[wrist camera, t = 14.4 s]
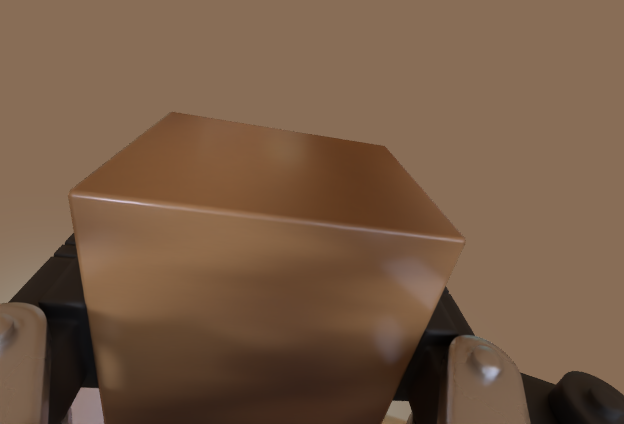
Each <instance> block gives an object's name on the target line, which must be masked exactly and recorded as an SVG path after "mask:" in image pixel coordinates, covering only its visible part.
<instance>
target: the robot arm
mask: <svg viewBox="0 0 624 424" xmlns="http://www.w3.org/2000/svg"><path fill="white" fill-rule="evenodd" d="M81 387H86V388H99V386H98V379H97V373H96V367H95V361H94V354H93V346H92V339H91V333H90V327H89V320H88V314H87V308H86V304H85V298H84V292H83V286H82V279H81V273H80V267H79V261H78V254H77V248H76V242H75V236H74V233H73V234H72V235H71V236H70V237H69V238H68V240H66V242H65V245H62V246H61V247H60V248H59V249H58V250H57V251H56V252H55V253H54V257H50V259H49V260H48V261H47V262H46V263H45V264H44V265H43V266H42V267H41V268H40V269H39V270H38V271H37V273H35V275H34V276H33V277H32V278H31V279H30V280H29V281H28V282H27V283H26V284H25V285H24V286H23V287H22V288H21V289H20V290H19V292H18V293H17V294H16V295H15V296H14V297H13V298H12V299H11V300H10V301H9V302H8V303H2V304H0V424H72V412H71V405H72V403H73V401H74V399H75V397H76V395H77V393H78V392H79V390H80V388H81ZM394 400H395V401H409V403H410V406H411V410H412V412H411V414H410V416H409V418H408V420H407V424H624V395H623V394H621V393H620V392H619V391H618V390H616V389H615V388H614V387H612V386H611V385H609V384H608V383H606V382H604V381H603V380H601V379H599V378H597V377H595V376H592V375H590V374H587V373H584V372H579V371H572V372H568V373H567V374H565V375H564V377H563V378H562V379H561V380H560V381H559V382H558V383H557V384H556V385H555V384H552V383H549V382H546V381H543V380H541V379H538V378H535V377H532V376H529V375H526V374H523V373H520V372H519V370H518V368H517V366H516V365H515V363H514V362H513V361H512V359H511V358H510V357H509V356H508V355H507V354H506V353H505V352H504V351H502V350H501V349H500V348H499V347H497V346H496V345H494V344H493V343H491V342H489V341H487V340H485V339H483V338H480V337H476V336H475V335H474V333H473V331H472V330H471V328H470V326H469V325H468V323H467V321H466V320H465V318H464V316H463V315H462V313H461V311H460V310H459V308H458V306H457V304H456V303H455V301H454V300H453V298H452V296H451V295H450V294H449V291H448V290H447V288H446V286H445V288H444V291H443V293H442V295H441V297H440V299H439V301H438V303H437V306H436V308H435V310H434V312H433V314H432V316H431V318H430V321H429V323H428V325H427V327H426V329H425V331H424V333H423V335H422V337H421V339H420V341H419V344H418V346H417V348H416V350H415V352H414V354H413V356H412V359H411V361H410V363H409V365H408V367H407V369H406V371H405V374H404V376H403V378H402V380H401V382H400V384H399V387H398V389H397V391H396V394H395V396H394V398H393V401H394Z"/></svg>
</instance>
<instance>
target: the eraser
mask: <svg viewBox="0 0 624 424" xmlns="http://www.w3.org/2000/svg"><path fill="white" fill-rule="evenodd" d="M68 198H69V204H70V210H71V217H72V223H73V229H74V236H75V242H76V248H77V254H78V261H79V267H80V273H81V279H82V286H83V292H84V298H85V304H86V308H87V314H88V320H89V327H90V333H91V339H92V346H93V354H94V361H95V367H96V373H97V379H98V386H99V392H100V398H101V404H102V411H103V417H104V423H105V424H382V421H383V419H384V417H385V415H386V413H387V411H388V408H389V406H390V404H391V402H392V400H393V398H394V396H395V394H396V391H397V389H398V387H399V384H400V382H401V380H402V378H403V376H404V374H405V371H406V369H407V367H408V365H409V363H410V361H411V359H412V356H413V354H414V352H415V350H416V348H417V346H418V344H419V341H420V339H421V337H422V335H423V333H424V331H425V329H426V327H427V325H428V323H429V321H430V318H431V316H432V314H433V312H434V310H435V308H436V306H437V303H438V301H439V299H440V297H441V295H442V293H443V291H444V288H445V286H446V284H447V282H448V280H449V278H450V275H451V273H452V271H453V269H454V267H455V265H456V263H457V261H458V258H459V256H460V254H461V252H462V250H463V248H464V246H465V241H466V240H465V238H464V236H463V235H462V234H461V233H460V232H459V231H458V230H457V228H456V227H455V226H454V225H453V224H452V223H451V222H450V220H449V219H448V218H447V217H446V216H445V215H444V214H443V212H442V211H441V210H440V209H439V208H438V207H437V205H436V204H435V203H434V202H433V201H432V200H431V199H430V197H429V196H428V195H427V194H426V193H425V192H424V191H423V189H422V188H421V187H420V186H419V185H418V184H417V183H416V181H415V180H414V179H413V178H412V177H411V176H410V174H409V173H408V172H407V171H406V170H405V169H404V168H403V166H402V165H401V164H400V163H399V162H398V161H397V160H396V158H395V157H394V156H393V155H392V154H391V153H390V152H389V150H388V149H387V148H386V147H385V146H380V145H374V144H368V143H362V142H355V141H349V140H342V139H337V138H330V137H324V136H318V135H312V134H306V133H299V132H294V131H287V130H281V129H275V128H269V127H262V126H256V125H250V124H244V123H237V122H231V121H225V120H219V119H213V118H207V117H200V116H194V115H188V114H182V113H175V112H170V113H169V114H167V115H166V116H165V117H163V118H162V119H161V120H160V121H158V122H157V123H156V124H155V125H153V126H152V127H151V128H149V129H148V130H147V131H145V132H144V133H143V134H142V135H140V136H139V137H138V138H136V139H135V140H134V141H133V142H132V143H130V144H129V145H128V146H126V147H125V148H124V149H123V150H121V151H120V152H118V153H117V154H116V155H115V156H113V157H112V158H111V159H110V160H108V161H107V162H106V163H104V164H103V165H102V166H101V167H99V168H98V169H97V170H96V171H94V172H93V173H92V174H90V175H89V176H88V177H86V178H85V179H84V180H83V181H81V182H80V183H79V184H77V185H76V186H75V187H74V188H73V189H71V190H70V192H69V195H68Z"/></svg>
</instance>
